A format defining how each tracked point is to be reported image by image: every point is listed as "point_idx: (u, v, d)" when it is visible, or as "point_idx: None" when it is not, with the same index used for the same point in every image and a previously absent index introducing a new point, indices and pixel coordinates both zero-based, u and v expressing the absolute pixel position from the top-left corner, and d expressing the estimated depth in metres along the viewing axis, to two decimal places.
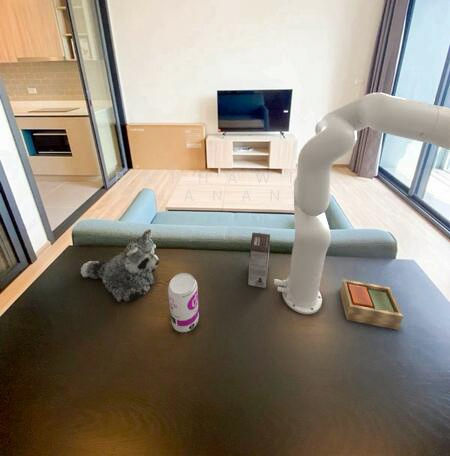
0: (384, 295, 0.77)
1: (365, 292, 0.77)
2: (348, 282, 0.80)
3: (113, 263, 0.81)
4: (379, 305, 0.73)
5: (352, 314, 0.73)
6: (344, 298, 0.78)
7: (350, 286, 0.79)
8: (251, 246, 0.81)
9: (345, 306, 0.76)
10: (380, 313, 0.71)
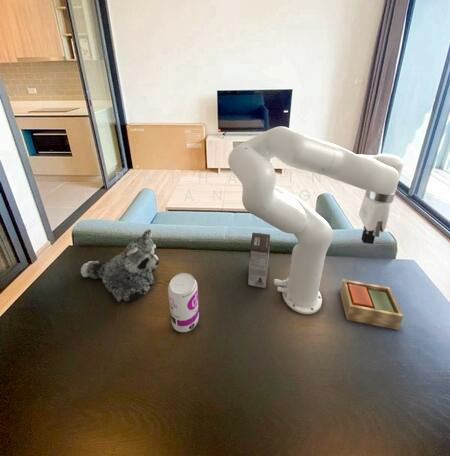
0: (384, 295, 0.77)
1: (365, 292, 0.77)
2: (348, 282, 0.80)
3: (113, 263, 0.81)
4: (379, 305, 0.73)
5: (352, 314, 0.73)
6: (344, 298, 0.78)
7: (350, 286, 0.79)
8: (251, 247, 0.81)
9: (345, 306, 0.76)
10: (380, 313, 0.71)
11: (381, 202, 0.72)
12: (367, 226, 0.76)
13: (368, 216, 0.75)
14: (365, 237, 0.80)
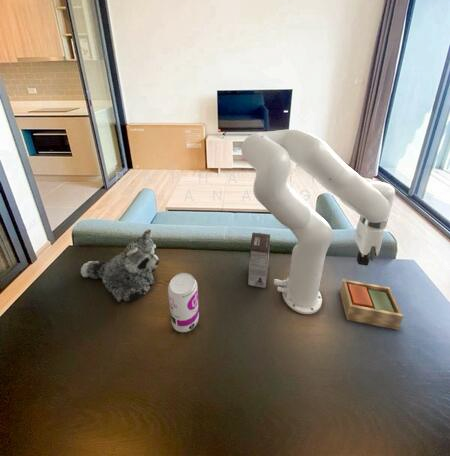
0: (384, 295, 0.77)
1: (365, 292, 0.77)
2: (348, 282, 0.80)
3: (113, 263, 0.81)
4: (379, 305, 0.73)
5: (352, 314, 0.73)
6: (344, 298, 0.78)
7: (350, 286, 0.79)
8: (251, 247, 0.81)
9: (345, 306, 0.76)
10: (380, 313, 0.71)
11: (374, 228, 0.75)
12: (362, 250, 0.79)
13: (362, 241, 0.79)
14: (360, 259, 0.84)
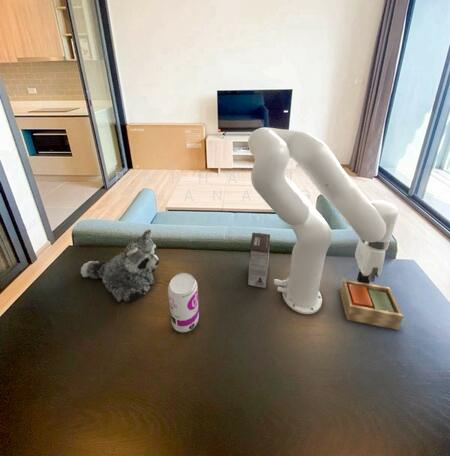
0: (384, 295, 0.77)
1: (365, 292, 0.77)
2: (348, 282, 0.80)
3: (113, 263, 0.81)
4: (379, 305, 0.73)
5: (352, 314, 0.73)
6: (344, 298, 0.78)
7: (350, 286, 0.79)
8: (251, 247, 0.81)
9: (345, 306, 0.76)
10: (380, 313, 0.71)
11: (376, 249, 0.73)
12: (363, 271, 0.76)
13: (364, 261, 0.76)
14: (361, 279, 0.81)
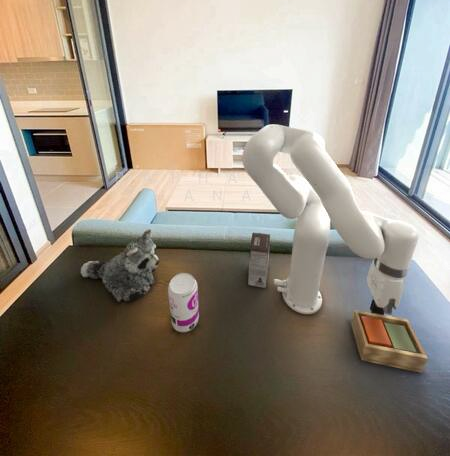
0: (403, 329, 0.67)
1: (381, 327, 0.67)
2: (361, 313, 0.70)
3: (113, 263, 0.81)
4: (398, 344, 0.63)
5: (368, 355, 0.63)
6: (357, 333, 0.68)
7: (363, 319, 0.69)
8: (251, 247, 0.81)
9: (359, 343, 0.66)
10: (400, 354, 0.61)
11: (393, 277, 0.63)
12: (377, 302, 0.66)
13: (378, 290, 0.66)
14: (374, 309, 0.71)
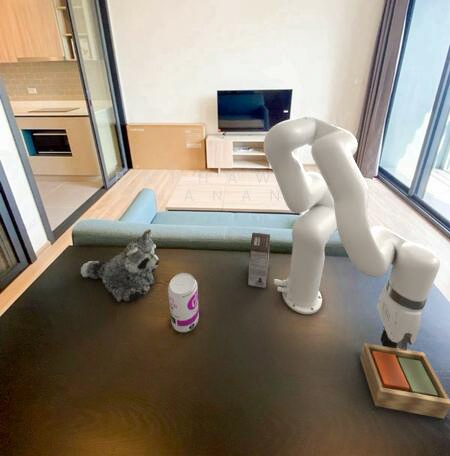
0: (419, 366, 0.59)
1: (396, 364, 0.58)
2: (371, 347, 0.62)
3: (113, 263, 0.81)
4: (417, 385, 0.55)
5: (383, 400, 0.54)
6: (368, 372, 0.59)
7: (375, 355, 0.60)
8: (251, 247, 0.81)
9: (371, 385, 0.58)
10: (420, 400, 0.53)
11: (410, 309, 0.55)
12: (390, 335, 0.58)
13: (391, 322, 0.58)
14: (386, 341, 0.63)
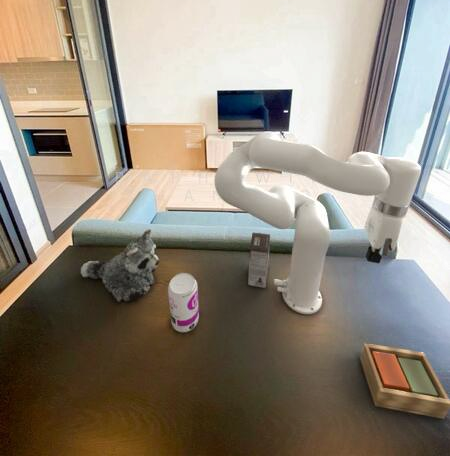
0: (419, 366, 0.59)
1: (396, 364, 0.58)
2: (371, 347, 0.62)
3: (113, 263, 0.81)
4: (417, 385, 0.55)
5: (383, 400, 0.55)
6: (368, 372, 0.59)
7: (375, 355, 0.60)
8: (251, 247, 0.81)
9: (371, 385, 0.58)
10: (420, 400, 0.53)
11: (391, 216, 0.60)
12: (373, 243, 0.63)
13: (375, 231, 0.63)
14: (370, 255, 0.68)
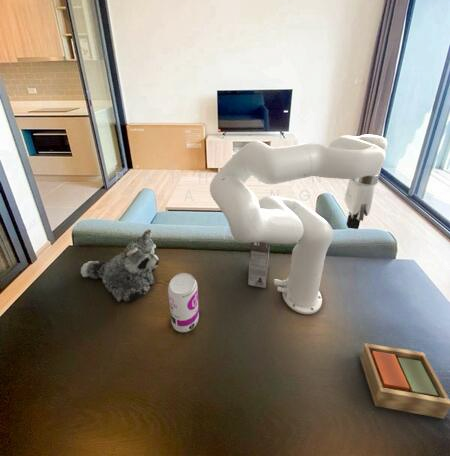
0: (419, 366, 0.59)
1: (396, 364, 0.58)
2: (371, 347, 0.62)
3: (113, 263, 0.81)
4: (417, 385, 0.55)
5: (383, 400, 0.54)
6: (368, 372, 0.59)
7: (375, 355, 0.60)
8: (251, 247, 0.81)
9: (371, 385, 0.58)
10: (420, 400, 0.53)
11: (365, 184, 0.70)
12: (351, 210, 0.73)
13: (352, 199, 0.73)
14: (350, 222, 0.78)
